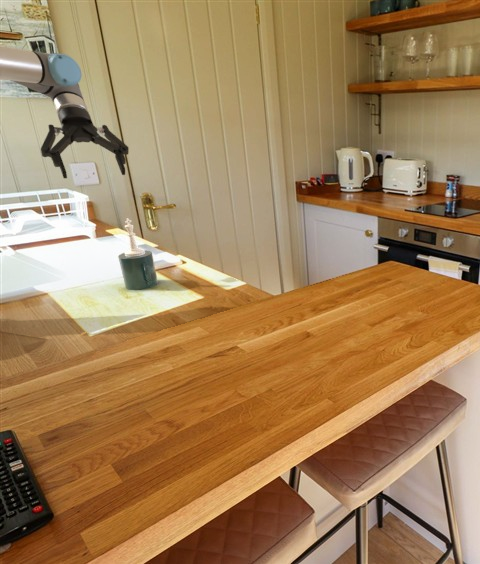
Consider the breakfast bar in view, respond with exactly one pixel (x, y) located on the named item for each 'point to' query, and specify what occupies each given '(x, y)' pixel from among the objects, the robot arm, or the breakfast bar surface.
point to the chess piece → (132, 242)
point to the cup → (138, 271)
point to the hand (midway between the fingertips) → (95, 173)
